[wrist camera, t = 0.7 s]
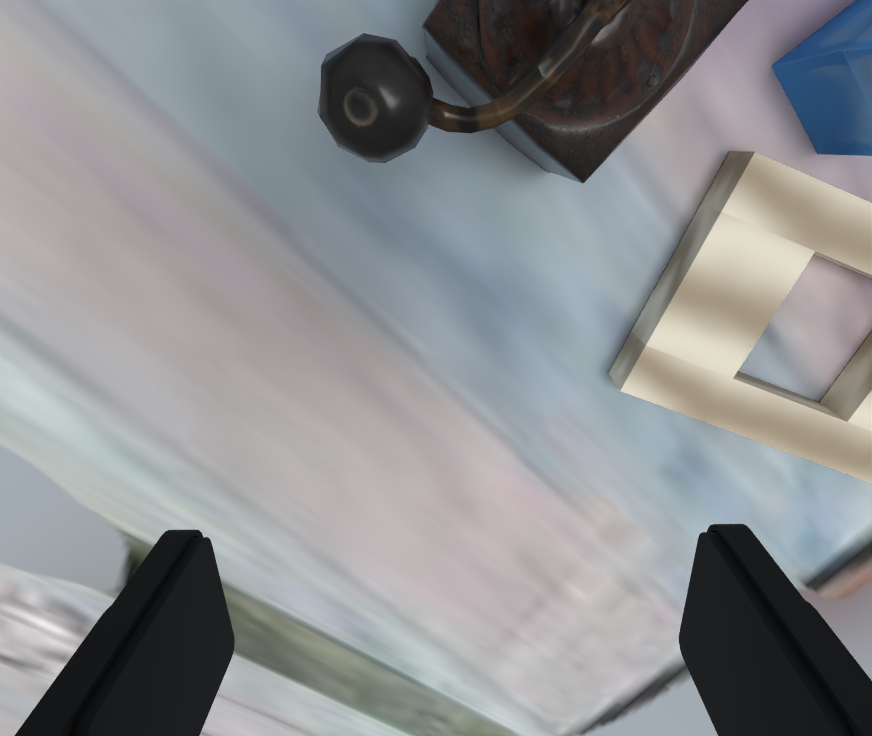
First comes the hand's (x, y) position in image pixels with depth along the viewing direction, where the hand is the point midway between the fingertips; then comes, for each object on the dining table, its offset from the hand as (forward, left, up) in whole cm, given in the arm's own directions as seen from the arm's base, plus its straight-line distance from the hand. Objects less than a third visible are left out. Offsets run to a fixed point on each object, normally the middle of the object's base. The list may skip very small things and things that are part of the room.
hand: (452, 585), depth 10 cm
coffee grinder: (-12, 0, -29) cm, 31 cm away
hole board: (-5, +25, -28) cm, 38 cm away
